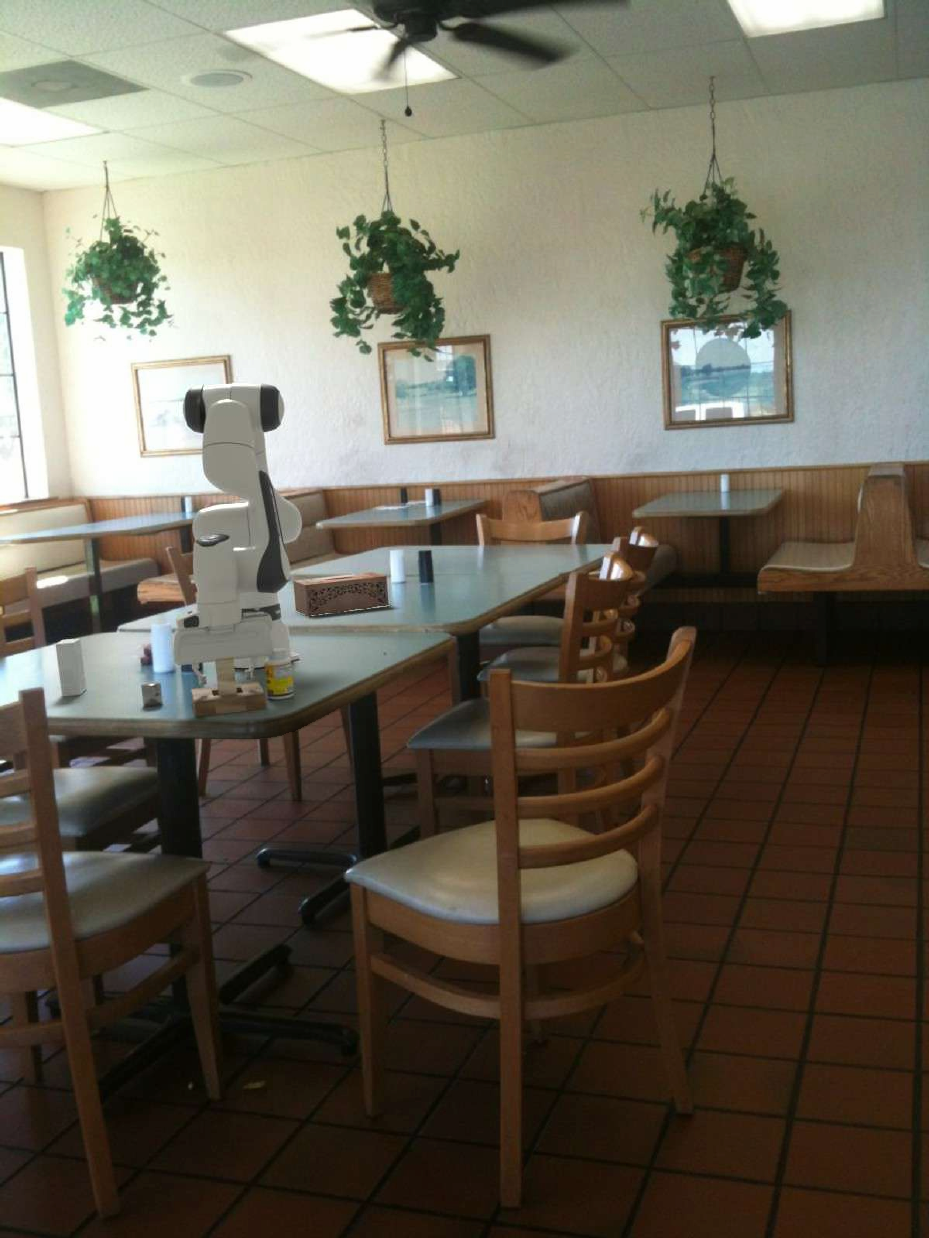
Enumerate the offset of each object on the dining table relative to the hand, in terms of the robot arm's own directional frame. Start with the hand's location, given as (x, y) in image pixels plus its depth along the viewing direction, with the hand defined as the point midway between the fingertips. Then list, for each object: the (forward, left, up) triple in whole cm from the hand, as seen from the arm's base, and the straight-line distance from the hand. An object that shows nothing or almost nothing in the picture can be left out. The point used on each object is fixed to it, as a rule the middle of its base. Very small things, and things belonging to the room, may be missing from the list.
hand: (226, 681), depth 258 cm
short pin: (-10, -15, -5) cm, 19 cm away
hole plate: (0, 0, -5) cm, 5 cm away
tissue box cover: (-126, +44, -6) cm, 133 cm away
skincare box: (-34, -32, -5) cm, 47 cm away
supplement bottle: (-2, +11, -5) cm, 12 cm away
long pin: (0, 0, -5) cm, 5 cm away
